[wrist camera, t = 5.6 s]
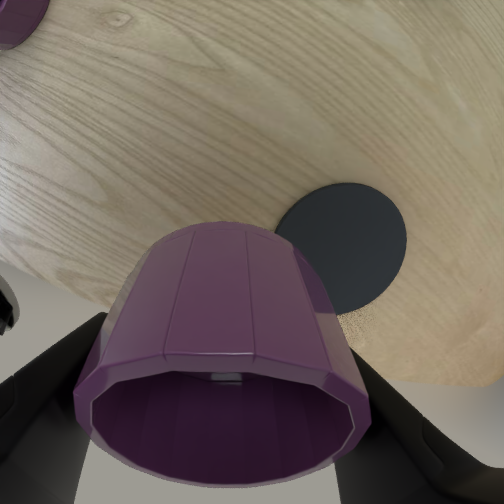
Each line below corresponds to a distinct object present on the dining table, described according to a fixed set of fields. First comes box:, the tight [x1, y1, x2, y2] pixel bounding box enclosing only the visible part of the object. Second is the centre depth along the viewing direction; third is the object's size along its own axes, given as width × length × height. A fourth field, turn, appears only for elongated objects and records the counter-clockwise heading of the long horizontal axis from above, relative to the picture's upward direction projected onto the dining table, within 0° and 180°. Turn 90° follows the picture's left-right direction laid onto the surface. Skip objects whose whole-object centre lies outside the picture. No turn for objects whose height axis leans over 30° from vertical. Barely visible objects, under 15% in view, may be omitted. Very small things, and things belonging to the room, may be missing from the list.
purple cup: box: [73, 221, 372, 488], centre depth 7 cm, size 6×6×4 cm
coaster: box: [275, 183, 407, 315], centre depth 20 cm, size 10×10×1 cm
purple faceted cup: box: [0, 0, 49, 50], centre depth 8 cm, size 6×6×4 cm
